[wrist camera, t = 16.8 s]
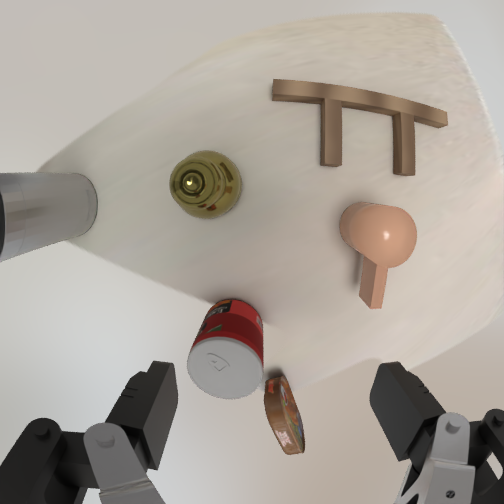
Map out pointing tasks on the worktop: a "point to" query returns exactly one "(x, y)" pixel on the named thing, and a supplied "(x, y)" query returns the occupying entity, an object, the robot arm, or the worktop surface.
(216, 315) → the canned food
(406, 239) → the tan paddle shape
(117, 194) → the worktop surface
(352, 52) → the worktop surface
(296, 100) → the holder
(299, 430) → the tin
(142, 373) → the robot arm
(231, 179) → the brass doorknob
